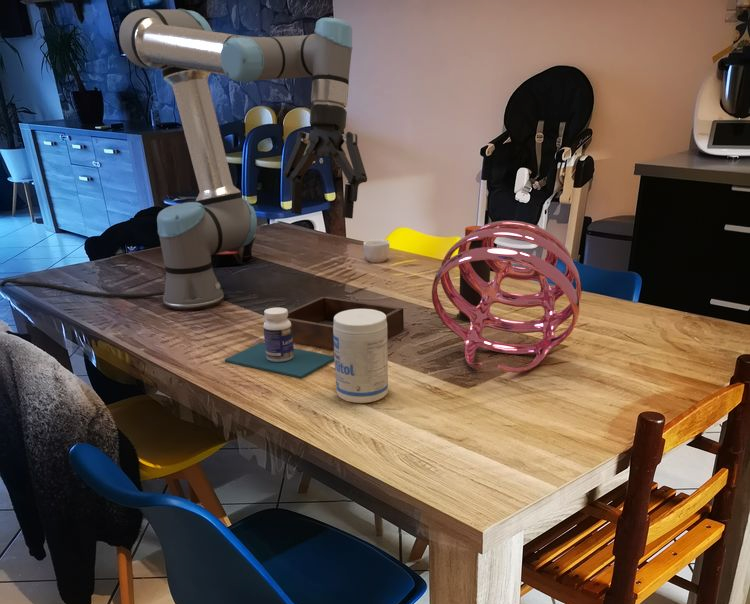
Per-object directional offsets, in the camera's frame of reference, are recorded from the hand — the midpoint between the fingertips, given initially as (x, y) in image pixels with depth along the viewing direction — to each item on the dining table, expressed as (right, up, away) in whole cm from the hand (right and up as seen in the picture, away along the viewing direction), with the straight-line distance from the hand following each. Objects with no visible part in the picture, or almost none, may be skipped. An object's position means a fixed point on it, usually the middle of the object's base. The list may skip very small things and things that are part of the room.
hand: (321, 216), depth 161 cm
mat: (-8, -32, -7) cm, 34 cm away
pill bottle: (-8, -32, -7) cm, 34 cm away
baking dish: (-34, +12, +69) cm, 77 cm away
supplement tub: (+9, -42, -24) cm, 49 cm away
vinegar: (+35, -19, +13) cm, 41 cm away
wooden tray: (+4, -24, +6) cm, 25 cm away
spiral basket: (+38, -33, -11) cm, 52 cm away
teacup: (+12, +11, +63) cm, 65 cm away
